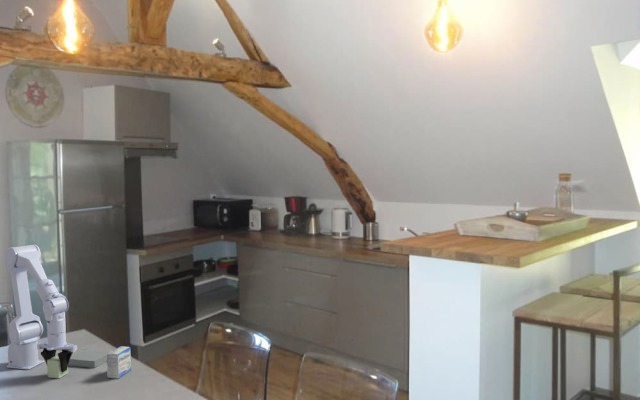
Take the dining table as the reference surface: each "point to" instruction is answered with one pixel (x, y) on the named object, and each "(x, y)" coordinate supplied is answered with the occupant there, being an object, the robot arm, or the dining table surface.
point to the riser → (88, 358)
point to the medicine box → (118, 362)
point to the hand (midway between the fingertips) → (57, 370)
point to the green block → (55, 368)
